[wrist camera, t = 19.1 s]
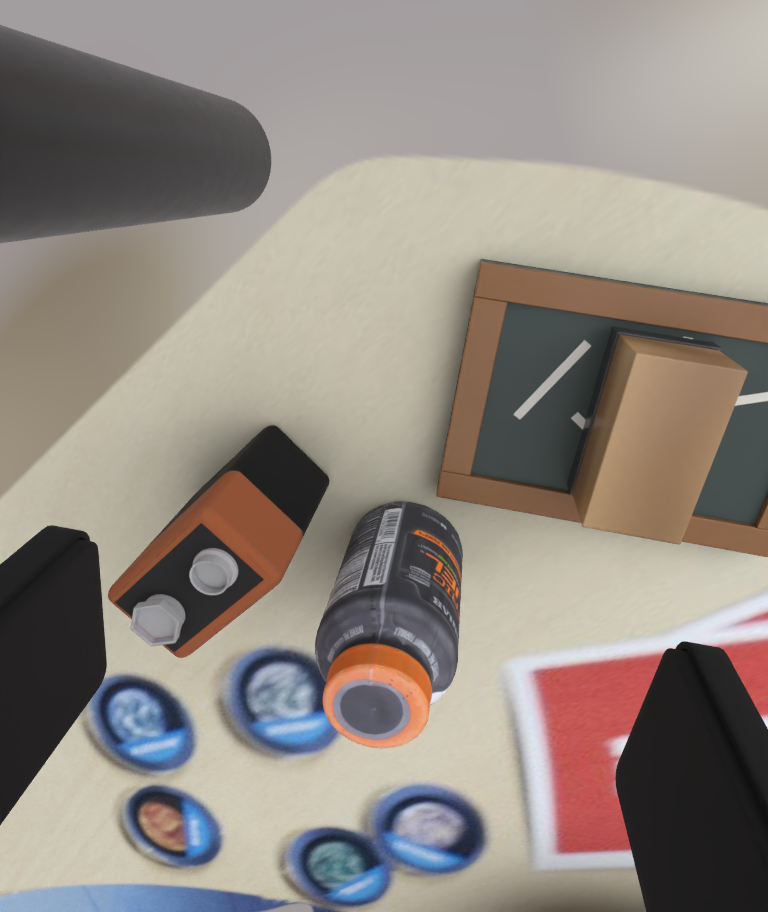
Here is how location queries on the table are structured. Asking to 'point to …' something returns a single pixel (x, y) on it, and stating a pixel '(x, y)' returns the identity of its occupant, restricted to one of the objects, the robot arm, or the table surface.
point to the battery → (223, 546)
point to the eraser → (652, 433)
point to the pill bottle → (391, 625)
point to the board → (572, 386)
